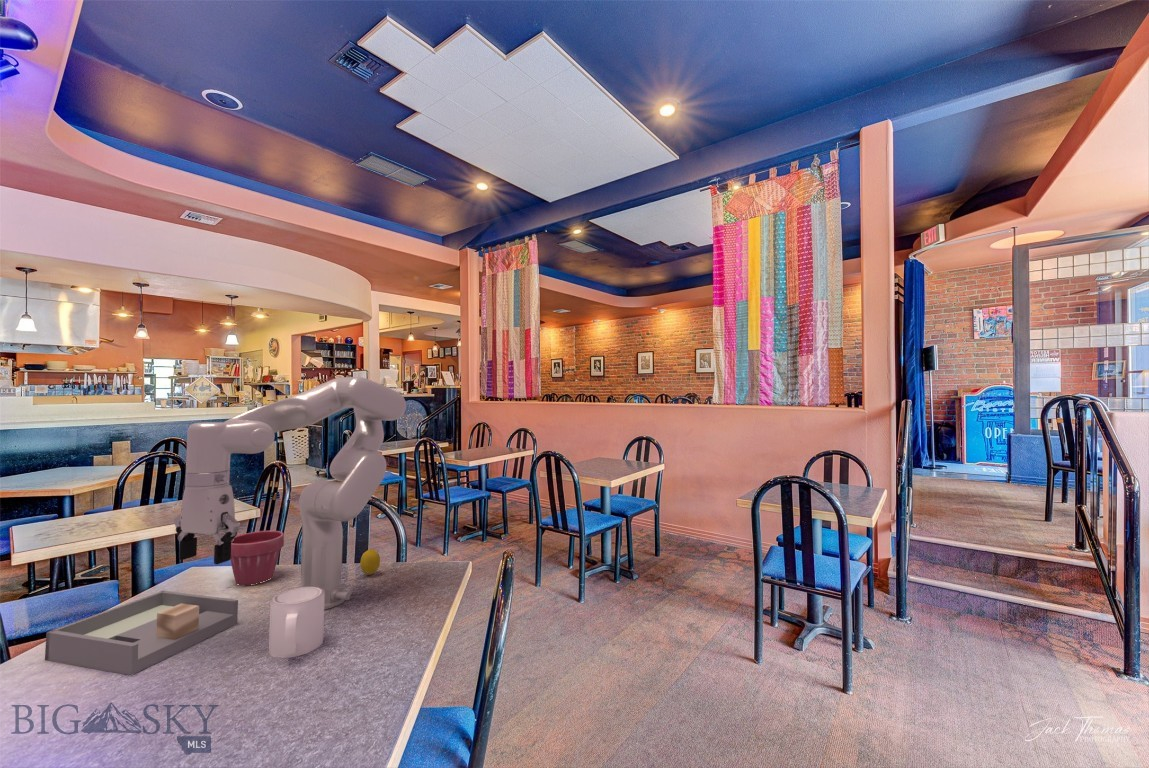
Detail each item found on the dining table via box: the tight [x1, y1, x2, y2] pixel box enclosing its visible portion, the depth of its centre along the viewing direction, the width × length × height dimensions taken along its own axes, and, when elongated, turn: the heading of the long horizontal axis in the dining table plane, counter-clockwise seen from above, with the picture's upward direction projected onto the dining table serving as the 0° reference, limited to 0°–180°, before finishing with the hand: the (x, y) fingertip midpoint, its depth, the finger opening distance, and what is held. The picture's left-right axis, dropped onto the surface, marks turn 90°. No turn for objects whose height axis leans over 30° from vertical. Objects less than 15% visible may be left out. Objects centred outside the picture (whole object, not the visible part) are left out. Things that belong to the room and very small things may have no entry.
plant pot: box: [229, 530, 285, 586], centre depth 139 cm, size 14×14×13 cm
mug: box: [268, 586, 325, 659], centre depth 100 cm, size 14×10×11 cm
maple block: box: [156, 604, 199, 640], centre depth 102 cm, size 5×5×5 cm
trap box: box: [44, 590, 239, 676], centre depth 103 cm, size 23×22×6 cm
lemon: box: [359, 548, 381, 575], centre depth 143 cm, size 6×6×8 cm
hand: (204, 560), depth 101 cm, fingers open, 9 cm apart
